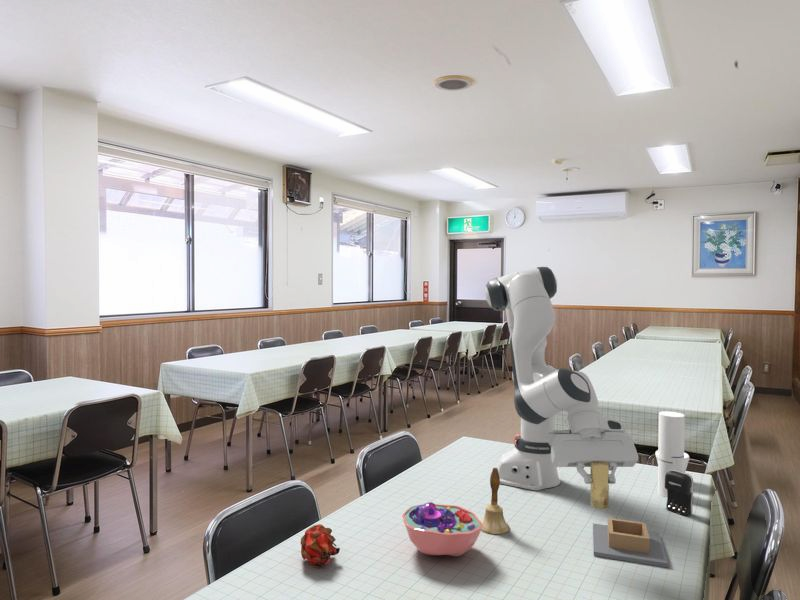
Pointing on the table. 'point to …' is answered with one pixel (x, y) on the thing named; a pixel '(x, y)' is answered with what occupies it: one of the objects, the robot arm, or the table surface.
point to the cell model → (441, 528)
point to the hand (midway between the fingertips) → (600, 482)
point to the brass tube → (600, 485)
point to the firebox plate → (628, 542)
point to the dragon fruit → (318, 545)
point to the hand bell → (494, 510)
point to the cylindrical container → (670, 446)
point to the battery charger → (679, 492)
